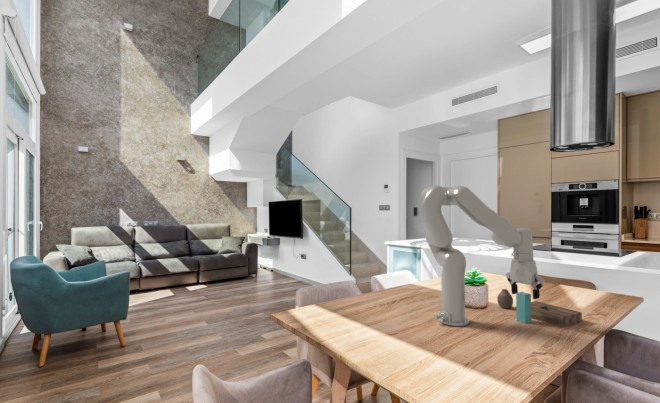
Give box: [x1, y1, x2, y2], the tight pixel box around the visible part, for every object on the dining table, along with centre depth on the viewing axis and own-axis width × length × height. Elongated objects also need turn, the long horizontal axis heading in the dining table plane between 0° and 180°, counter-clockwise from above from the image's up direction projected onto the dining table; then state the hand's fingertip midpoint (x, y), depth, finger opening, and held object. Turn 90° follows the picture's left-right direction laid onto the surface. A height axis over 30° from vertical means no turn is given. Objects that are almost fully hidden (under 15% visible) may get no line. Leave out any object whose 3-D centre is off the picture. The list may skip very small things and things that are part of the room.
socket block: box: [531, 300, 583, 328], centre depth 153 cm, size 14×20×4 cm
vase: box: [496, 288, 514, 310], centre depth 168 cm, size 7×7×9 cm
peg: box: [515, 291, 532, 324], centre depth 148 cm, size 4×4×12 cm
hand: (525, 296), depth 148 cm, fingers open, 9 cm apart
